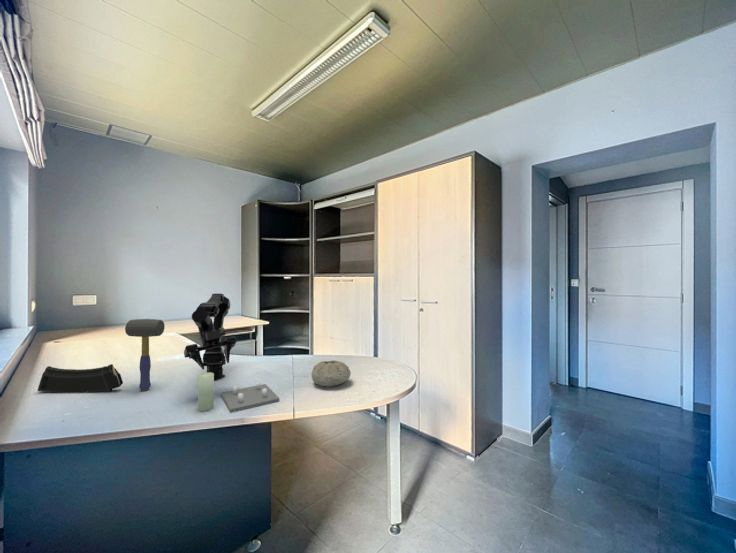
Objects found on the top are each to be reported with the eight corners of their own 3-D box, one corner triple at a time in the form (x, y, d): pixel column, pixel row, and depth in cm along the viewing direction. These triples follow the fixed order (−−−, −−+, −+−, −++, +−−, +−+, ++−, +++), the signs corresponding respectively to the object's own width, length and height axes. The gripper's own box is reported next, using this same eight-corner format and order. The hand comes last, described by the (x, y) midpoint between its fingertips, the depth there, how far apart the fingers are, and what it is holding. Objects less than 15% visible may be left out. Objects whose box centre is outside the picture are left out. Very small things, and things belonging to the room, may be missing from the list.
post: (194, 410, 113) (194, 376, 113) (205, 404, 118) (206, 371, 118) (205, 412, 111) (205, 377, 111) (216, 406, 116) (217, 373, 116)
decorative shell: (319, 375, 153) (319, 355, 153) (354, 378, 149) (354, 358, 149) (305, 388, 135) (305, 366, 135) (344, 392, 132) (344, 369, 132)
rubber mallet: (165, 386, 135) (166, 317, 134) (155, 393, 127) (156, 320, 127) (134, 386, 133) (135, 317, 133) (123, 393, 126) (123, 320, 125)
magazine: (30, 371, 124) (106, 349, 126) (38, 369, 127) (112, 347, 130) (44, 411, 125) (119, 389, 127) (51, 408, 128) (125, 386, 130)
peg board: (220, 395, 126) (221, 385, 126) (265, 386, 137) (265, 377, 137) (230, 412, 112) (230, 401, 111) (279, 401, 122) (279, 390, 122)
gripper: (184, 326, 117) (193, 364, 111) (235, 318, 130) (245, 351, 124) (180, 339, 124) (188, 375, 118) (228, 330, 137) (238, 363, 131)
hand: (216, 366), depth 123 cm, fingers open, 9 cm apart
